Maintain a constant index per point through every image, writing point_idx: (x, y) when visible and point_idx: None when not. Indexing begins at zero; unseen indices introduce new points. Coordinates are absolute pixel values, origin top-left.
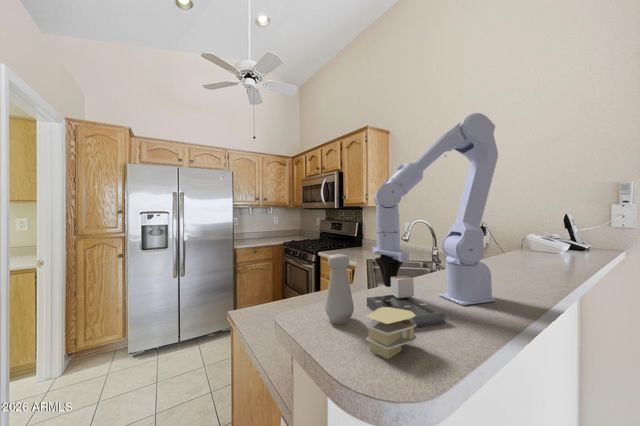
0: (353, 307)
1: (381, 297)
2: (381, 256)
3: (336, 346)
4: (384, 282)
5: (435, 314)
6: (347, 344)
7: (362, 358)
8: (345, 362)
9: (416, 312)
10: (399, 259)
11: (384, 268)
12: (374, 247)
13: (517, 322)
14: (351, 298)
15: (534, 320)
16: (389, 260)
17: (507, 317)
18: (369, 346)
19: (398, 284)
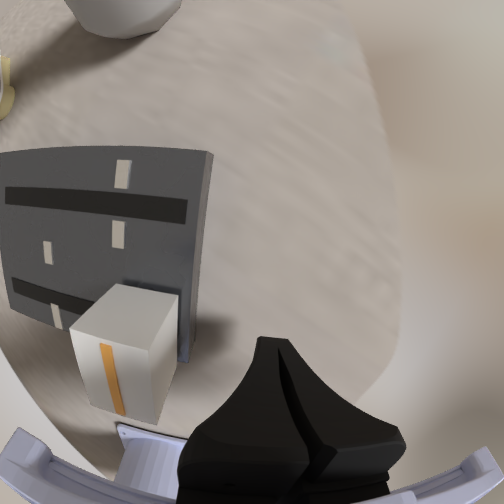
0: (90, 30)
1: (173, 228)
2: (372, 488)
3: (50, 3)
4: (282, 346)
5: (5, 279)
6: (41, 21)
7: (6, 44)
8: (16, 19)
9: (13, 240)
10: (25, 445)
11: (242, 402)
12: (483, 494)
13: (41, 401)
14: (73, 9)
15: (51, 422)
16: (178, 475)
17: (59, 413)
18: (4, 57)
19: (84, 318)
